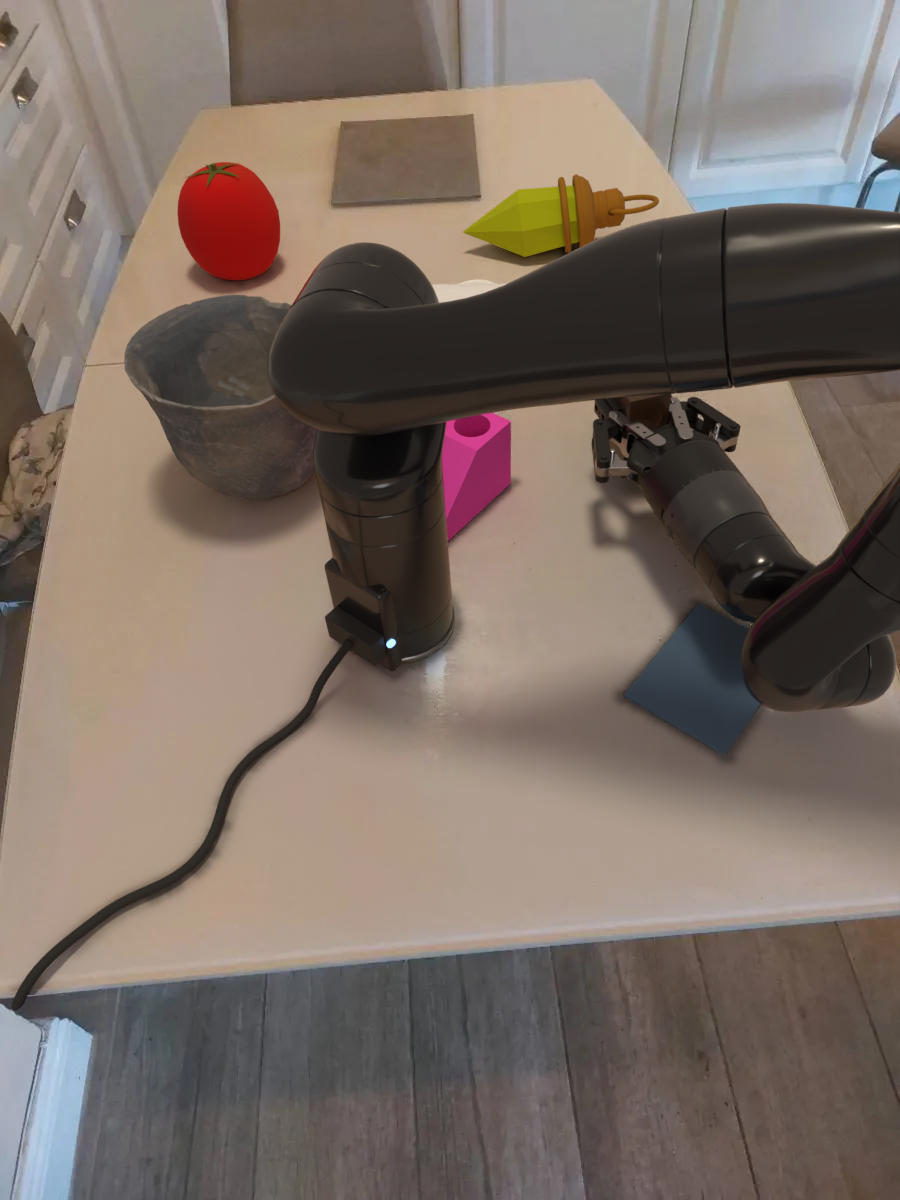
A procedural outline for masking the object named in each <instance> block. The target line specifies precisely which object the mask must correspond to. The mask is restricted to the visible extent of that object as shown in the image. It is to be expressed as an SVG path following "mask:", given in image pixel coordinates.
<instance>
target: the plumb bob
mask: <svg viewBox="0 0 900 1200" xmlns="http://www.w3.org/2000/svg"><path fill="white" fill-rule="evenodd" d="M571 180H572V181H571V183H572V185H567V184H566V180H565V178H564V176H560V177H558V179H557V186H546V187H545V186H544V187H533V188H521V189H520V188H519V189H517V190H515V191H514V192H512V193H511V194H510V195H509V196H507V197H506V198H505V199H504V200H502V201H501V202H500V203H498V204H497V205H496V206H494V207H493V208H491V209H490V210H489V211H488V212H487V213H485V214H484V215H482V216H481V217H480V218H479V219H477V220H476V221H475V222H474V223H472V224H471V225H470V226H468V227H466V229H464V230H463V231H462V234H466V235H467V236H470V237H473V238H476V239H478V240H481V241H482V242H487V244H491V245H493V246H496V247H498V248H501V249H504V250H506V251H509V252H511V253H513V254H516V255H519V256H521V257H524V258H526V257H530V256H533V255H538V254H540V253H545V252H547V251H548V252H549V251H552V250H556V249H559V248H564V249H563V250H564V252H565V253H566V254H568V253H570V252H572V245H574V244H577V246H578V248H580V247H582V246H584V245H586V244H588V243H590V242H592V241H595V238H596V237H595V236H596V231H597V230H598V229H601V230H602V229H605V228H613V227H620V226H621V225H622V223H623V222H624V220H625V217H626V215H632V214H638V213H644V212H647V211H650V210H652V209H654V208H656V207H657V206H658V205H659V203H660V199H659V197H658V196H656V195H653V194H631V195H626V196H624V193H623V192H622V191H621V190H620V189H619V188H618V187H614V188H607V189H604V190H602V189H601V190H597V191H593V188H592V185H591V184H590V182H589V180H588V179H586V178H585V177H583V176H580V175H579V174H577V173H576V174H573V175H572V179H571ZM631 201H651V202H650V203H648V204H645V205H642V206H638V207H634V208H633V207H632V208H626V202H631Z"/></svg>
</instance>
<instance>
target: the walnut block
mask: <svg viewBox="0 0 900 1200" xmlns="http://www.w3.org/2000/svg"><path fill="white" fill-rule="evenodd" d="M671 395H672V396H673V394H662V395H642V396H628V397H617V398H614V400H615V401H616V403H617V404H618V405H619V407H620V408H621V412H622V413H623V414H624V415H625V416H627V417H628V418H629V419H630V420H632V421H633V420H635V419H637V420H638V421H639V422H641V423H642V424H643V425H645V426H646V427H647V428H648V429H653V428H659V427H662V426H664V425H666V424H667V421H668V409H669V408H670V401H671ZM609 444H610V449H615V453H616V454H618V456H619V458H620V459H622V460H625V461H627V458H626V457H625V456H624V455H623V454H622V453H621V450H620V448H619V446H617V445H616V444H615V443H614V442H612V441H611V440H609ZM619 478H620V479H621V480H624V479H628V477H627V476H619Z"/></svg>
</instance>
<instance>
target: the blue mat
mask: <svg viewBox="0 0 900 1200" xmlns="http://www.w3.org/2000/svg"><path fill="white" fill-rule="evenodd" d="M749 629H750V628H749V627H747V626H744V625H742V624H741V623H739V622H736V621H734V620H733V619H730V618H729V617H727V616H726V615H723V614H721V613H719V612H717V611H715V610H713V609H712V608H709V607H707V606H705V605H703V604H702V603H699V602H698V603H697V604H696V605H695V607H694V608H693V609H692V610H691V611H690V613H689V614H688V615H687V616H686V617H685V618H684V620H683V621H682V622H681V624H680V625H679V626H678V627H677V628H676V629H675V631H674V632H673V633H672V635H671V636H670V637H669V639H668V640H667V641H666V642H665V643H664V644H663V645H662V647H661V648H660V649H659V651H657V653H656V655H655V656H654V657H653V658H652V659H651V661H650V662H648V664H647V665H646V667H645V668H644V669H643V670H642V672H640V674H639V675H638V676H637V677H636V679H635V680H634V682H633V683H632V684H631V685H630V686H629V688H628V689H627V690H626V691H625V693H624V694H623V698H625V699H626V700H628V701H630V702H631V703H632V704H633V703H634V704H635V705H637V706H639V707H640V708H642V709H643V710H645V711H646V712H649V713H650V714H652V715H654V716H656V717H657V718H659V719H661V720H662V721H664V722H666V723H667V724H669V725H671V726H672V727H674V728H676V729H678V730H679V731H681V732H682V733H685V734H686V735H688V736H689V737H691V738H693V739H694V740H696V741H698V742H699V743H701V744H703V745H705V746H706V747H708V748H710V749H712V750H713V751H715V752H717V753H719V754H720V755H722V756H723V757H725V756H726V755H727V753H728V752H729V751H730V749H731V748H732V746H733V745H734V744H735V742H736V741H737V739H738V738H739V737H740V736H741V733H742V732H743V731H744V729H745V728H746V726H747V725H748V723H749V722H750V721H751V719H752V718H753V716H754V715H755V714H756V712H757V710H759V708H760V707H761V706H762V705H761V704H760V703H759V702H757V701H756V700H755V699H754V698H753V697H752V696H751V695H750V693H749V692H748V690H747V689H746V687H745V685H744V682H743V679H742V676H741V671H740V655H741V649H742V645H743V642H744V640H745V637H746V635H747V632H748V631H749Z"/></svg>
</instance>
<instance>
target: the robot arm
mask: <svg viewBox="0 0 900 1200" xmlns="http://www.w3.org/2000/svg"><path fill="white" fill-rule="evenodd" d="M431 284H432V283H431V281H430V280H429V278H428V277H427V275H426V274H425V273H424V272H423V270H422V269H421V268H420V267H419V266H418V264H417V263H416V262H414V261H413V260H412V259H411V258H409V257H408V256H407V255H405V254H404V253H402V252H401V251H399V250H397V249H395V248H393V247H391V246H388V245H384V244H382V243H376V242H364V241H363V242H355V243H350V244H347V245H344V246H341V247H338V248H337V249H335V250H333V251H332V252H329V254H328V255H326V256H325V257H324V258H323V259H322V260H321V261H320V262H319V263H318V264H317V265H316V267H315V268H314V269H313V271H312V272H311V274H310V275H309V277H308V278H307V279H306V281H305V283H304V285H303V286H302V288H301V290H300V291H299V292H298V294H297V296H296V297H295V298H294V301H293V302H292V304H290V305H291V307H290V309H289V310H288V312H287V313H286V315H285V317H284V319H283V320H282V322H281V324H280V325H279V327H278V329H277V332H276V334H275V337H274V339H273V342H272V345H271V349H270V353H269V357H268V377H269V383H270V386H271V389H272V391H273V393H274V395H275V397H276V399H277V400H278V402H279V403H280V404H281V406H283V407H284V408H285V409H286V410H287V411H288V412H289V413H290V414H291V415H292V416H293V417H295V418H296V419H298V420H299V421H301V422H303V423H304V424H306V425H308V426H311V427H313V428H315V429H317V431H316V436H315V441H314V446H313V465H314V471H315V473H314V477H315V481H316V484H317V485H316V486H317V489H318V494H319V497H320V502H321V507H322V511H323V517H324V523H325V528H326V531H327V537H328V540H329V546H330V550H331V556H332V557H331V558H330V559H329V560H328V561H327V562H325V564H324V572H325V576H326V580H327V581H326V582H327V584H328V589H329V594H330V598H331V599H330V600H331V603H332V607H333V609H331V610H330V611H329V612H328V613H327V614H326V615H325V616H324V620H325V623H326V628H327V632H328V637H329V638H331V639H332V640H334V641H335V642H337V643H338V644H340V647H339V648H338V649H337V651H336V652H335V654H333V656H332V657H331V658H330V660H329V662H328V663H327V664H326V666H325V667H324V669H323V670H322V671H321V673H320V675H319V676H318V678H317V679H316V681H315V683H314V685H313V688H312V690H311V692H310V695H309V697H308V700H307V702H306V703H305V705H304V707H302V709H301V710H300V711H299V712H298V714H297V715H295V717H294V718H293V719H292V720H291V721H290V722H289V723H288V724H286V725H285V726H284V727H283V728H281V729H280V730H279V731H277V732H276V733H274V734H273V735H272V736H270V737H268V738H267V739H266V740H264V741H263V742H261V743H259V744H258V745H257V746H256V747H254V748H253V749H252V750H250V751H249V753H247V755H245V756H244V757H243V759H241V761H240V762H238V764H237V765H236V767H234V769H233V770H232V772H231V773H230V775H229V777H228V779H227V780H226V781H225V784H224V786H223V788H222V791H221V794H220V796H219V799H218V803H217V804H216V805H217V806H216V809H215V812H214V816H213V818H212V822H211V825H210V828H209V830H208V833H207V835H206V836H205V838H204V840H203V842H202V843H201V845H200V846H199V848H198V849H197V850H196V851H195V853H194V854H193V855H192V856H191V857H190V858H189V859H188V860H186V862H185V863H183V864H182V865H181V866H179V867H178V868H177V869H176V870H174V871H172V872H171V873H169V874H167V875H166V876H164V877H162V878H160V879H158V880H156V881H154V882H151V883H149V884H146V885H145V886H142V887H140V888H138V889H136V890H135V889H134V890H133V891H131V892H129V893H127V894H125V895H123V896H121V897H119V898H118V899H116V900H114V901H112V902H111V903H109V904H107V905H105V906H104V907H103V908H101V909H100V910H99V911H97V912H96V913H95V914H93V915H92V916H90V917H89V918H88V919H87V920H85V921H84V922H83V923H81V924H80V925H79V926H77V927H75V929H73V930H72V931H71V932H70V933H68V934H67V935H66V936H65V937H63V938H62V939H61V940H59V941H58V942H57V944H55V945H54V946H53V947H51V948H50V949H49V950H48V951H47V952H46V953H45V954H44V955H42V957H41V958H40V959H39V960H38V961H37V962H36V964H35V965H34V966H33V967H32V968H31V969H30V971H29V972H28V974H27V975H26V976H25V978H24V979H23V981H22V982H21V984H20V986H19V988H18V989H17V991H16V993H15V995H14V997H13V1000H12V1003H11V1010H12V1011H18V1010H20V1009H21V1008H22V1007H23V1005H25V1002H26V999H27V998H28V996H29V994H30V993H31V990H32V989H33V987H34V986H35V984H36V982H37V981H38V980H39V978H40V977H41V976H42V975H43V974H44V972H45V971H46V970H48V968H49V967H50V966H51V965H52V964H53V963H54V962H55V961H56V960H57V959H58V958H59V957H60V956H62V954H64V953H65V952H66V951H67V950H68V949H70V948H71V947H72V946H73V945H74V944H76V943H77V942H78V941H79V940H81V939H82V938H83V937H84V936H86V935H87V934H88V933H89V932H91V931H93V930H94V929H95V928H96V927H98V926H99V925H100V924H102V923H103V922H104V921H106V920H107V919H108V918H110V917H111V916H112V915H114V914H117V912H119V911H121V910H123V909H124V908H126V907H129V906H130V905H132V904H134V903H136V902H138V901H140V900H143V899H145V898H147V897H149V896H152V895H154V894H156V893H158V892H161V891H163V890H165V889H166V888H168V887H170V886H172V885H174V884H175V883H178V882H179V881H180V880H183V878H185V877H186V876H187V875H188V874H190V873H191V872H192V871H193V870H194V869H196V867H197V866H198V865H200V864H201V862H203V860H204V859H205V858H206V856H207V855H208V854H209V852H210V851H211V849H212V848H213V846H214V844H215V843H216V840H217V838H218V836H219V834H220V831H221V829H222V826H223V823H224V820H225V816H226V812H227V809H228V806H229V802H230V799H231V796H232V794H233V791H234V789H235V787H236V785H237V783H238V781H239V780H240V779H241V777H242V776H243V774H244V773H245V771H246V770H247V769H248V768H249V767H250V766H251V765H252V764H253V763H254V762H255V761H256V760H257V759H258V758H259V757H261V756H262V755H263V754H265V753H266V752H267V751H269V750H270V749H272V748H273V747H274V746H276V745H277V744H279V743H280V742H281V741H283V740H284V739H286V738H287V737H289V736H290V735H291V734H292V733H293V732H295V731H296V730H297V729H298V728H299V727H300V726H301V725H302V724H303V723H304V722H305V721H306V720H307V718H308V717H309V716H310V715H311V714H312V712H313V711H314V709H315V707H316V705H317V703H318V701H319V699H320V697H321V693H322V692H323V689H324V687H325V685H326V684H327V682H328V681H329V679H330V677H331V676H332V674H333V673H334V672H335V670H336V669H337V667H338V666H339V665H340V663H341V662H342V661H343V659H344V658H345V657H346V655H347V654H348V653H349V651H351V652H352V653H353V654H355V655H356V656H357V657H359V658H361V659H362V660H364V661H365V662H367V663H368V664H370V665H371V666H373V667H377V666H378V665H380V666H381V667H383V668H384V669H386V670H388V671H389V672H395V671H396V670H397V669H398V668H399V667H401V666H403V665H406V664H413V663H416V662H420V661H423V660H424V659H427V658H428V657H431V656H432V655H434V654H436V653H437V652H438V651H439V650H440V649H442V648H443V647H444V646H445V645H446V643H447V642H448V640H449V639H450V638H451V636H452V633H453V630H454V627H455V622H456V621H455V618H456V617H455V609H454V604H453V592H452V580H451V568H450V567H451V565H450V554H449V552H450V551H449V541H448V538H447V524H446V511H445V496H444V482H443V464H442V451H443V444H444V437H445V431H446V422H447V421H452V420H457V419H462V418H466V417H472V416H477V415H482V414H487V413H498V412H505V411H512V410H521V409H527V408H537V407H538V408H539V407H549V406H556V405H557V406H558V405H566V404H574V403H582V402H590V401H594V409H593V411H594V414H595V415H596V417H597V418H596V419H594V420H593V421H592V438H591V443H590V444H591V453H592V454H591V455H592V463H593V471H594V479H595V482H597V483H598V484H608V482H609V481H610V477H620V476H627V477H628V478H627V479H628V480H629V481H630V482H632V483H634V484H635V485H637V486H638V487H639V488H640V489H641V493H642V494H643V496H644V498H645V500H646V502H647V504H648V505H649V507H650V508H651V510H652V511H653V513H654V514H655V516H656V517H657V519H658V520H659V522H660V523H661V525H662V526H663V528H664V529H665V531H666V533H667V536H668V537H669V539H671V540H672V542H673V543H674V544H675V547H677V549H678V551H679V552H680V553H681V555H682V556H683V557H684V558H685V559H686V561H687V562H689V563H690V564H691V566H692V567H693V568H694V569H695V570H696V572H697V573H698V575H699V576H700V578H701V579H702V581H703V582H704V584H705V585H706V586H707V588H708V590H709V591H710V593H711V594H712V596H713V597H714V599H715V600H716V602H717V603H718V604H719V605H720V607H721V608H722V609H723V610H724V611H725V612H726V613H727V614H728V615H729V616H731V617H732V618H734V619H736V620H739V621H743V622H746V623H750V624H751V623H752V624H751V626H749V628H748V629H749V631H748V632H747V635H746V637H745V640H744V642H743V645H742V649H741V655H740V671H741V676H742V679H743V682H744V685H745V687H746V689H747V690H748V692H749V693H750V695H751V696H752V697H753V698H754V699H755V700H756V701H757V702H759V703H760V704H761V705H760V706H763V707H765V708H766V709H769V710H772V711H775V712H779V713H788V714H789V713H790V714H792V713H793V714H794V713H797V714H798V713H805V712H806V713H807V712H813V711H814V712H815V711H822V710H823V711H824V710H832V709H841V708H842V709H843V708H852V707H860V706H863V705H867V704H871V703H873V702H875V701H877V700H879V699H880V698H881V697H883V695H884V694H886V692H887V691H888V690H890V688H891V686H892V684H893V681H894V679H895V676H896V672H897V655H896V650H895V646H894V643H893V639H892V638H891V635H892V634H896V633H900V462H899V463H898V465H896V467H895V468H894V469H893V471H892V473H891V474H890V475H889V476H888V478H887V479H886V481H885V482H884V483H883V484H882V486H881V487H880V489H879V490H878V491H877V493H876V494H875V495H874V497H873V498H872V499H871V500H870V501H869V503H868V505H867V506H866V507H865V509H863V511H862V512H861V513H860V515H859V516H858V517H857V519H856V521H855V522H854V523H853V524H852V525H851V527H850V528H849V530H848V531H847V532H846V534H844V537H842V539H841V540H840V542H839V544H838V545H837V547H836V548H835V550H834V551H833V552H832V553H831V554H830V555H829V556H827V557H826V558H825V559H824V560H822V561H821V562H820V563H818V564H817V565H816V564H814V563H813V562H811V561H810V560H808V559H807V558H805V557H804V556H803V555H802V554H801V553H800V552H799V551H798V549H797V548H796V546H795V545H794V544H793V542H792V541H791V540H790V539H789V536H788V535H787V534H786V533H785V532H784V531H783V529H782V528H781V527H780V525H779V524H778V523H777V521H775V519H774V517H772V515H771V513H770V512H769V510H768V508H767V506H766V504H765V502H764V500H763V499H762V497H761V496H760V495H759V493H758V492H757V491H756V490H755V488H754V487H753V486H752V485H751V483H750V482H749V481H748V480H747V478H746V477H745V476H744V474H743V473H742V472H741V471H740V469H739V468H738V467H737V466H736V464H735V463H734V462H733V460H732V459H731V458H730V456H729V455H728V454H727V453H733V452H735V451H736V449H737V446H738V445H737V444H738V441H739V437H740V432H741V428H742V427H741V425H740V424H739V422H736V421H735V420H733V419H732V418H730V417H729V416H728V415H726V414H724V413H723V412H721V411H720V410H718V409H717V408H715V407H713V406H712V405H710V404H708V403H707V402H706V401H704V400H702V399H701V398H700V397H697V396H690V397H688V398H687V400H686V401H684V400H683V401H681V400H680V399H679V398H678V397H675V396H673V395H675V394H687V393H696V392H707V391H719V390H728V389H729V390H731V389H733V387H734V388H735V389H738V388H746V387H752V386H753V387H754V386H758V385H759V386H760V385H767V384H774V383H783V382H792V381H804V380H814V379H827V378H838V377H839V378H840V377H850V376H861V375H871V374H880V373H889V372H898V371H900V211H892V210H891V211H889V210H880V209H872V208H861V207H852V206H843V205H842V206H841V205H831V204H817V203H796V202H795V203H793V202H792V203H791V202H776V203H760V204H759V203H758V204H747V205H737V206H729V207H728V208H725V207H723V208H717V209H710V210H704V211H699V212H693V213H686V214H681V215H674V216H669V217H663V218H657V219H653V220H648V221H645V222H641V223H637V224H634V225H629V226H627V227H624V228H621V229H618V230H616V231H613V232H611V233H609V234H606V235H603V236H600V237H599V238H597V239H594V241H592V242H590V243H588V244H586V245H584V246H582V247H580V248H579V247H578V248H576V249H574V250H571V252H570V253H566V254H564V255H562V256H560V257H558V258H556V259H553V260H552V261H550V262H548V263H546V264H544V265H541V266H540V267H538V268H536V269H534V270H532V271H530V272H528V273H527V274H524V275H522V276H520V277H518V278H516V279H514V280H512V281H509V282H507V283H505V284H506V285H503V286H501V287H498V288H496V289H493V290H490V291H488V292H485V293H482V294H478V295H475V296H471V297H468V298H464V299H459V300H453V301H448V302H441V303H439V301H438V298H437V295H436V293H435V291H434V289H433V287H432V285H431ZM662 394H672V395H671V401H670V408H669V409H668V421H667V424H666V425H664V426H662V427H659V428H653V429H648V428H647V427H646V426H645V425H643V424H642V423H641V422H639V421H638V420H637V419H635V420H633V421H632V420H630V419H629V418H628V417H627V416H625V415H624V414H623V413H622V412H621V408H620V407H619V405H618V404H617V403H616V401H615V400H614V398H617V397H628V396H642V395H662ZM699 416H701V417H702V419H701V418H700V417H699ZM609 440H611V441H612V442H614V443H615V444H616V445H617V446H619V448H620V450H621V453H622V454H623V455H624V456H625V457H626V458H627V461H625V460H622V459H620V458H619V456H618V454H616V453H615V449H610V444H609Z"/></svg>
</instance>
